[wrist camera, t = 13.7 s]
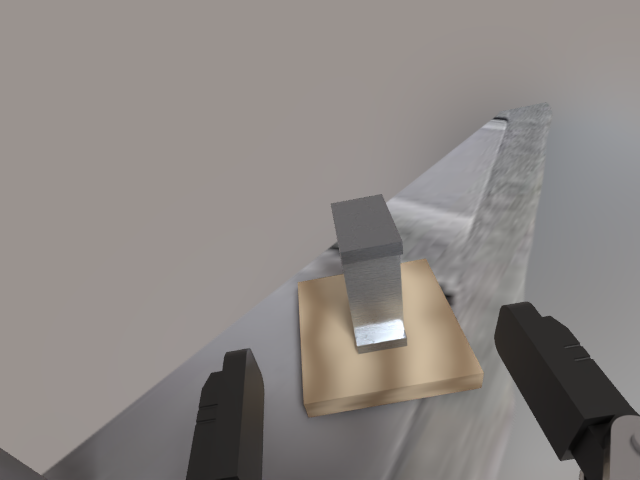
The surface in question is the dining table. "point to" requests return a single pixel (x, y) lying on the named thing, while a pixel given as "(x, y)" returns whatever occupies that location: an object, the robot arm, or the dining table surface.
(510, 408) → the dining table surface
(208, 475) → the robot arm
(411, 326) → the birch stand
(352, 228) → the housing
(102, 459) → the dining table surface
